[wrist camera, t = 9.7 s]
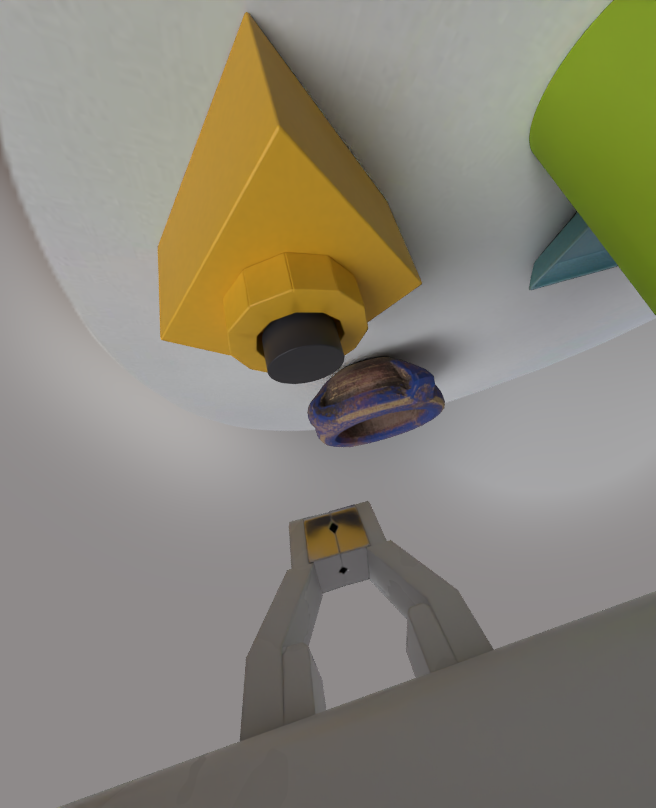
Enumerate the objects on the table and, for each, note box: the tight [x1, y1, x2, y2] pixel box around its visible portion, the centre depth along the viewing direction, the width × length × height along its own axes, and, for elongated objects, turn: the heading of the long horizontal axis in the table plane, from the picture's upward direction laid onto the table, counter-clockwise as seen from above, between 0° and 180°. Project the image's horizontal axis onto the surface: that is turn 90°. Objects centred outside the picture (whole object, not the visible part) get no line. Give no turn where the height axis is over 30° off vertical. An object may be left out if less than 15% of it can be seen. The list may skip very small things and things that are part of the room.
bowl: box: [308, 357, 445, 447], centre depth 36 cm, size 18×18×10 cm
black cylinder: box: [262, 312, 344, 384], centre depth 12 cm, size 4×4×2 cm
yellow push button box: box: [158, 12, 422, 372], centre depth 13 cm, size 10×9×8 cm
